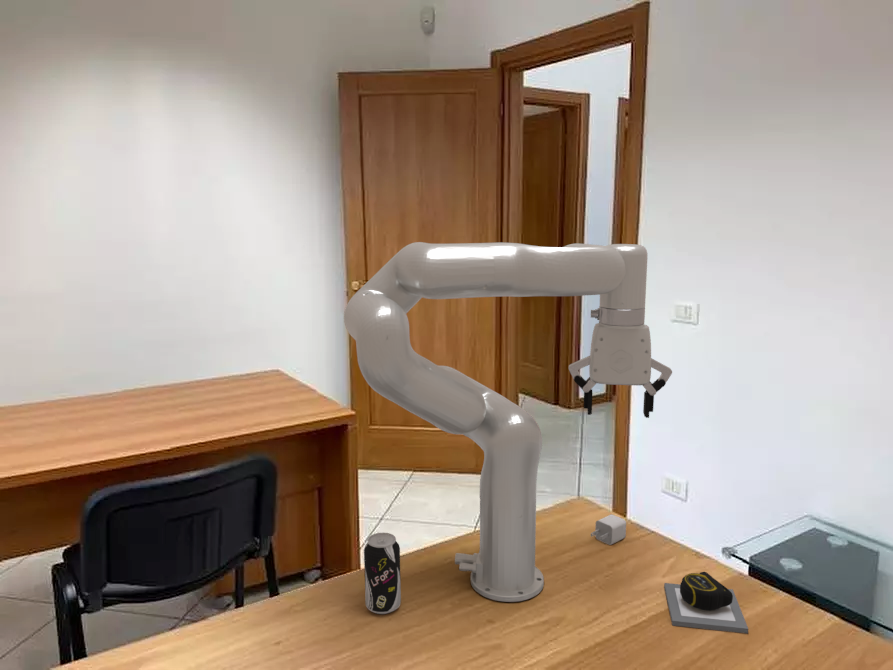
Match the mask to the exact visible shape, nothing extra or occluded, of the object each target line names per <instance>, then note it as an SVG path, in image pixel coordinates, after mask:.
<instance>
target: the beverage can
mask: <svg viewBox="0 0 893 670" xmlns="http://www.w3.org/2000/svg"><path fill="white" fill-rule="evenodd" d="M363 561H364V562H363V566H364V592H365V594H364V595H365V596H364V597H365V600H364V602H365V606H366V608H367V610H368V611H370V612H372V613H374V614H376V615H377V614H378V615H387V614H390V613H392V612H394V611H397V609H398V608H400V606H401V603H402V593H401V587H402V586H401V585H402V583H401V548H400V544H399V542H397V538H396V536H395V535H394V534H392V533H390V532H389V533H388V532H377V533H372V534H371V535H370V536H368V538H367V542H366V544H365V546H364V547H363Z"/></svg>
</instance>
